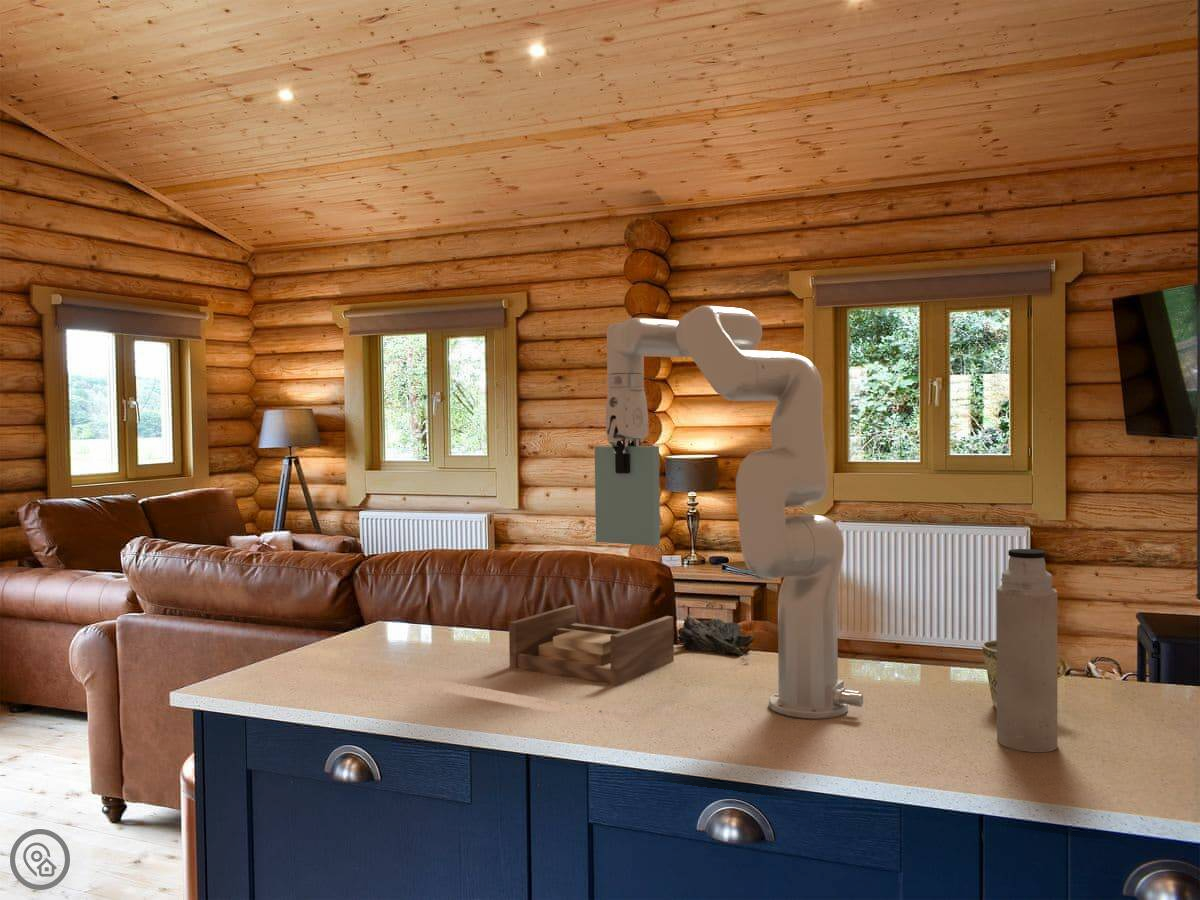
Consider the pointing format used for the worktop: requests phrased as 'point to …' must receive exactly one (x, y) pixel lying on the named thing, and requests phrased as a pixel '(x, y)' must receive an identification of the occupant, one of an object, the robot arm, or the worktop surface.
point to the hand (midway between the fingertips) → (626, 472)
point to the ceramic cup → (991, 667)
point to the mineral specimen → (713, 637)
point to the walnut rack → (628, 647)
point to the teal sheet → (627, 497)
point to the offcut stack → (579, 648)
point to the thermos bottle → (1027, 654)
